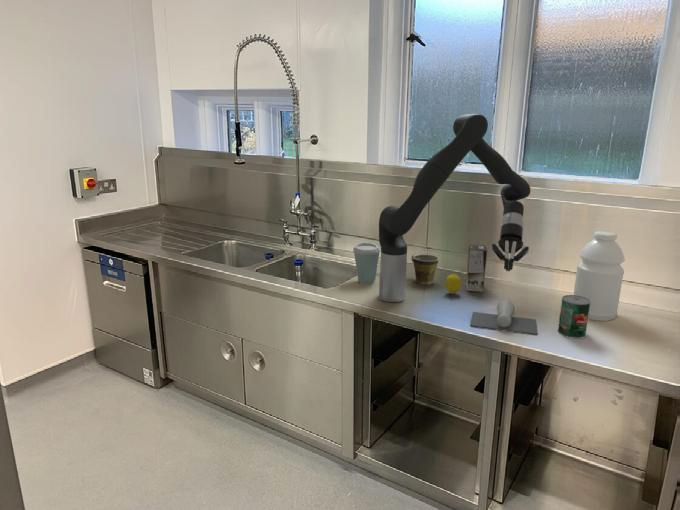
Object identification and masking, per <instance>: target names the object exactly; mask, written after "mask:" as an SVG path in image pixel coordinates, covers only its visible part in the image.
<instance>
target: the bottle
mask: <svg viewBox="0 0 680 510" xmlns="http://www.w3.org/2000/svg"><path fill="white" fill-rule="evenodd" d="M617 236H618V235H617V234H616V233H615V232H612V231H607V230H596V231H594V232H593V239H592V240H590V241H589V242H588V243H586V244H585V245H584V246H583V248H582V250H581V251H580V253H579V257H580V258H581V259H582V260H581V261H579V262H578V263H577V265H576V275H575V282H574V290H573V295H577V296H582V297H585V298H587V299H589V300H590V308H589V314H588V320H592V321H601V322H602V321H603V322H605V321H612V320H615V319H616V317H617V315H618V308H619V303H620V297H621V296H620V295H621V290H622V289H621V288H622V283H623V279H624V273H625V270H624V268H623V267H622V266H621V264H622V263H624V262H625V261H626V260H625V256H624V252H623V250H622V248H621V247H620V245H619V244H618V242H616V241H617V238H618V237H617Z"/></svg>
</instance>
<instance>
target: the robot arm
mask: <svg viewBox="0 0 680 510" xmlns="http://www.w3.org/2000/svg"><path fill="white" fill-rule="evenodd" d="M452 125H453V126H452V130H453V133H454V135H455V137H454V138H453V140H451V142H450V143H448V144H447V145H445V146H444V147H443V148H441V149H440V150H439V151H438V152H436V153H435V154H433V155H432V157H430V158H429V159H428V160H427V161H426V163H424V165H423V166H422V168H420V171H418V173H417V176H415V177H416V178H415V180H414V183H413V187H412V189H411V192H410V194H409V196H408V197H407V198H406V200H405V201H404V202H403V203H402V205H400V207H398V206H396V205H389V206H386V207H385V208H384V209H383V210H382V211H381V212H380V214H379V218H378V219H379V220H378V242H379V246H380V268H379V269H380V271H379V281H378V282H379V283H378V284H379V285H378V286H379V287H378V288H379V289H378V300H379V301H384V302H388V303H400V302H403V301H405V298H406V283H407V281H406V280H407V257H408V245H407V243H406V241H405V240H404V236H403V235H406V234H407V233H408V232H409V231H410V230H411V229H412V227H413V226H414V225H415V223H416V222H417V219H419V217H420V215H421V214H422V212H423V210H424V209H425V208H426V206H427V205H428V204H429V202H430V201H431V200H432V199H433V198H434V196H435V194H436V193H437V192H438V191H439V190H440V189H441V187H442V186H443V185H444V184H445V183H446V181H447V180H448V179H449V178H450V176H451V175H452V174H453V172H454V171H455V170H456V168H458V166H459V165H460V163H461V162H462V161H463V160H464V158H465V156H467V154H468V153H469V152H472V153H473V154H474V155H475V156H476V158H477V159H478V160H479V161H480V162H481V164H483V166H484V168H485V169H486V170H487V171H488V173H489V174H490V175H491V176H492V178H493V180H494V181H495V183H497V185H503V186H502V188H501V190H500V197H501V200H502V206H503V212H502V220H501V225H500V234H499V235H500V236H499V240H498V241H497V242H496V243H492V244H491V250H492V251H493V253H494V254H495V255H496V257H497V258H498V259H499V260H500V261H504V264H503V265H504V266H503V269H504V270H505V271H506V272H511V271H512V270H513V267H514V262H519V261H520V260H522V258H524V256H526V255H527V254H528V253H529V249H530V247H529V246H525V245H524V242H523V234H524V231H523V230H524V211H525V209H524V208H525V207H524V206H525V205H524V204H523V203H522V202H520V200H523V199H526V198H528V197H529V196H530V194H531V187H530V184H529V182H528V181H527V180H526V179H525V178H523V177H522V176H521V175H520V174H518V173H517V172H516V171H514V170H513V169H512V168H511V166H510V164H509V163H508V162H507V160H506V159H505V158H504V157H503V156H502V155H501V153H499V152H498V151H497V150H496V149H494V148H493V147H492V146H490V145H489V144H488V143H487V141H486V140H485V139H484V138H483V137H485V135H486V134H487V131H488V128H489V122H488V119H487V118H486V116H485V115H483V114H481V113H467V114H461V115H459V116H457V118H455V120H454V122H453V124H452ZM517 252H518V253H517ZM503 253H504V254H503ZM509 254H510V255H509ZM515 254H516V255H515Z"/></svg>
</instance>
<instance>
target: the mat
mask: <svg viewBox="0 0 680 510" xmlns="http://www.w3.org/2000/svg"><path fill="white" fill-rule="evenodd" d="M498 316H499V315H498V314H496V313H494V314H493V313H487V312H478V311H472V314H471V318H470V323H469V326H471V327H472V328H478V327H481V328H480V329H485V328H489V329H488V330H493V329H498V330H497V331H501V330H506V331H505V332H509V331H514V332H513V333H517V332H521V333H520V334H524V333H528V334H527V335H532V334H536V335H535V336H538V326H537V319H536V318H530V317H529V318H528V317H520V316H512V317H511V324H510V326H508V327H506V328H503V327H500V326H499V325H498V323H497V318H498Z"/></svg>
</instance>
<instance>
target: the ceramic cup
mask: <svg viewBox="0 0 680 510" xmlns="http://www.w3.org/2000/svg"><path fill="white" fill-rule="evenodd" d="M439 260H440V259H439V257H438V256H436V255H433V254H424V253H423V254H415V255H412V256H411V261H412V263H413V267H414V274H415V281H416V283H418V284H420V285H426V286H427V285H431V284H433V282H434V278H435V274H436V270H437V267H438V265H439Z"/></svg>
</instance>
